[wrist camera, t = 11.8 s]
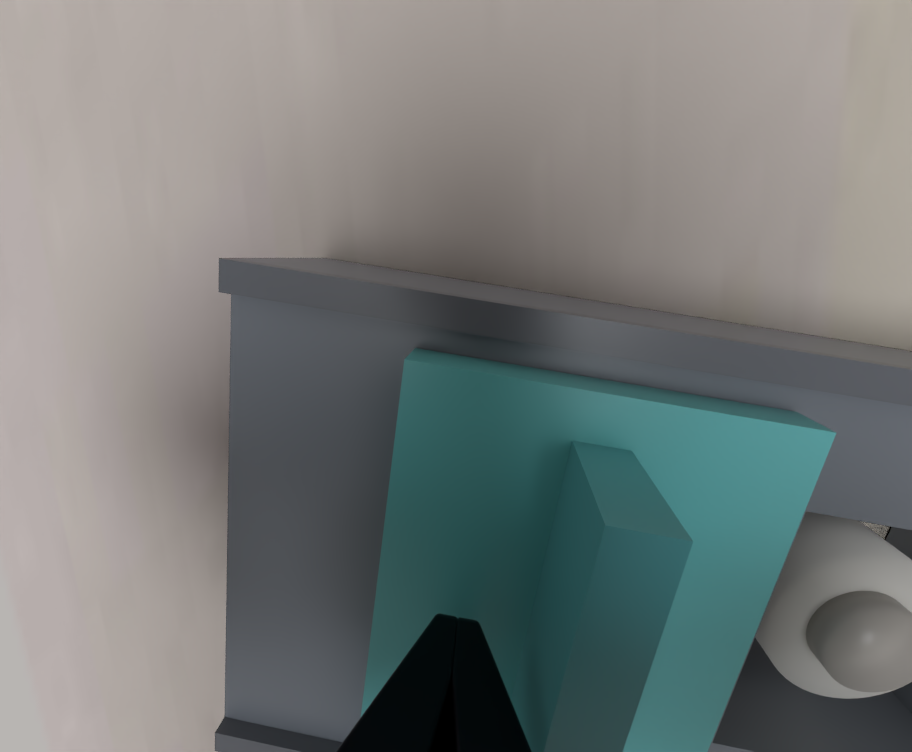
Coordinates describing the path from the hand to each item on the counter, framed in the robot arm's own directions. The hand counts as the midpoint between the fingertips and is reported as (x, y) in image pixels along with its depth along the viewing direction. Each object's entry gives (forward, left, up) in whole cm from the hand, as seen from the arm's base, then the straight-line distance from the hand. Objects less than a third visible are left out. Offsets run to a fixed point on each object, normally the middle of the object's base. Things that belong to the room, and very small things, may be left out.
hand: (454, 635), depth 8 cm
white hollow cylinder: (0, -9, -6) cm, 11 cm away
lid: (0, -2, -1) cm, 2 cm away
